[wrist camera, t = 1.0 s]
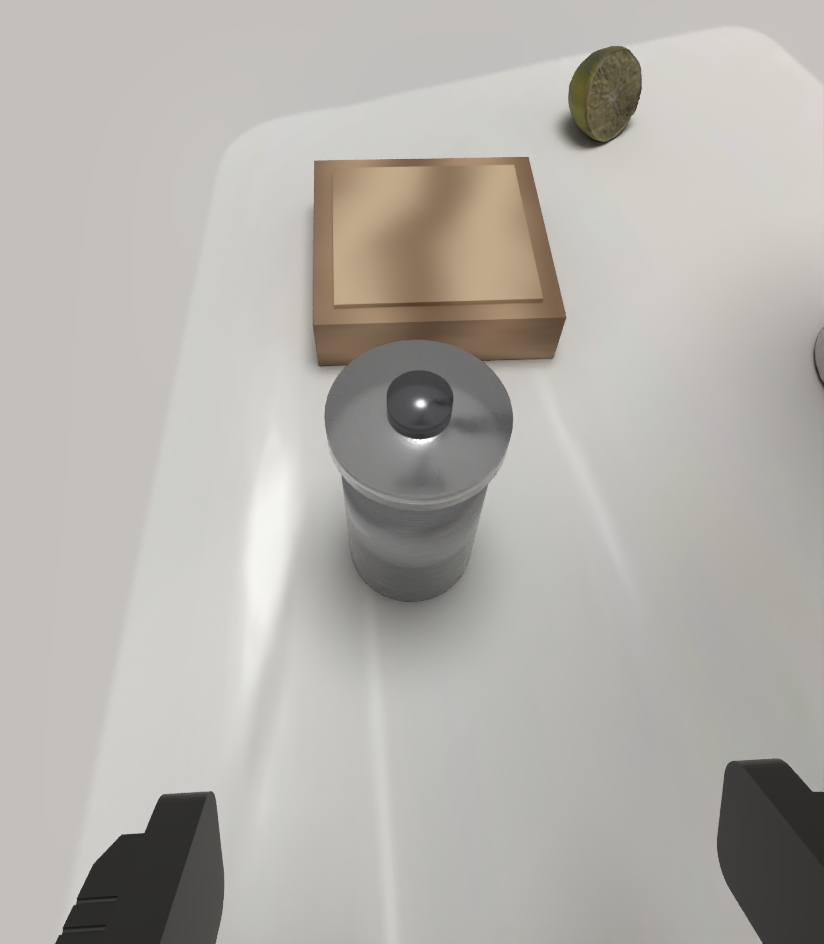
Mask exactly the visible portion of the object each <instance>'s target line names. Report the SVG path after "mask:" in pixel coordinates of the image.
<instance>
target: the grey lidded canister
mask: <svg viewBox="0 0 824 944" xmlns="http://www.w3.org/2000/svg"><path fill="white" fill-rule="evenodd" d="M325 427H326V434H327V440H328V446H329V450H330V454H331V456H332V459H333V461H334V463H335V465H336V467H337V468H338V470H339V472H340V473H341V475H342V483H343V490H344V498H345V506H346V514H347V522H348V530H349V538H350V546H351V554H352V558H353V562H354V565H355V567H356V569H357V571H358V573H359V575H360V576H361V577H362V579H363V580H364V581H365V582H366V583H367V584H368V585H369V586H370V587H371V588H373V589H374V590H375V591H377V592H378V593H380V594H382V595H384V596H386V597H389V598H392V599H395V600H400V601H423V600H427V599H431V598H433V597H436V596H438V595H440V594H442V593H444V592H446V591H447V590H448V589H450V588H451V587H452V586H453V585H454V584H455V583H456V582H457V581H458V580H459V578H460V577H461V576H462V574H463V572H464V571H465V569H466V566H467V564H468V560H469V556H470V553H471V549H472V545H473V541H474V537H475V533H476V529H477V525H478V521H479V518H480V514H481V510H482V506H483V502H484V498H485V494H486V490H487V486H488V484H489V483H490V481H491V480H492V479H493V478H494V476H495V475H496V474H497V472H498V470H499V469H500V467H501V465H502V463H503V460H504V458H505V455H506V451H507V448H508V444H509V441H510V437H511V433H512V427H513V413H512V406H511V402H510V398H509V396H508V393H507V391H506V389H505V387H504V385H503V384H502V382H501V380H500V379H499V378H498V377H497V375H496V374H495V373H494V372H493V371H492V370H491V369H490V368H489V367H488V366H487V365H486V364H485V363H484V362H482V361H481V360H480V359H478V358H477V357H475V356H474V355H472V354H470V353H469V352H467V351H464V350H462V349H460V348H458V347H455V346H452V345H449V344H445V343H441V342H436V341H429V340H404V341H397V342H392V343H388V344H385V345H381V346H378V347H376V348H374V349H371V350H369V351H367V352H366V353H364V354H362V355H360V356H359V357H357V358H356V359H355V360H353V361H352V362H351V363H350V364H349V365H347V366H346V367H345V368H344V369H343V370H342V372H341V373H340V374H339V375H338V377H337V378H336V380H335V381H334V383H333V385H332V387H331V389H330V391H329V394H328V397H327V401H326V405H325Z"/></svg>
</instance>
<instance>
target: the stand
mask: <svg viewBox="0 0 824 944" xmlns="http://www.w3.org/2000/svg"><path fill="white" fill-rule="evenodd" d="M565 320H566V314H565V310H564V305H563V301H562V297H561V293H560V288H559V284H558V280H557V276H556V271H555V267H554V263H553V259H552V254H551V250H550V246H549V242H548V238H547V233H546V229H545V225H544V221H543V216H542V212H541V208H540V204H539V199H538V195H537V191H536V187H535V183H534V178H533V174H532V170H531V166H530V161H529V157H501V158H443V159H385V160H327V161H314V266H313V329H314V336H315V343H316V350H317V357H318V363H319V366H329V365H349V364H350V363H351V362H352V361H353V360H355V359H356V358H357V357H359V356H360V355H362V354H364V353H366V352H367V351H369V350H371V349H374V348H376V347H378V346H381V345H385V344H388V343H392V342H397V341H404V340H429V341H436V342H441V343H445V344H449V345H452V346H455V347H458V348H460V349H462V350H464V351H467V352H469V353H470V354H472V355H474V356H475V357H477V358H478V359H480V360H504V359H534V358H553V357H554V354H555V351H556V348H557V345H558V342H559V339H560V335H561V332H562V329H563V326H564V323H565Z"/></svg>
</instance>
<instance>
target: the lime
mask: <svg viewBox="0 0 824 944" xmlns="http://www.w3.org/2000/svg"><path fill="white" fill-rule="evenodd" d="M641 76H642V75H641V67H640V64H639V62H638V60H637V59H636V57H635V56H634V55H633V54H632V53H631V51H630V50H628V49H627V48H625V47H622V46H611V47H608V48H604V49H601V50H598V51H596V52H594V53H592V54H591V55H590V56H589V57H588V58H586V59H585V61H583V62H582V63H581V64H580V66H579V67H578V68H577V70H576V71H575V73H574V75H573V77H572V80H571V82H570V85H569V95H568V101H569V108H570V111H571V113H572V115H573V117H574V120H575V122H576V124H577V126H578V127H579V128H580V129H581V130H582V131H583V132H584V133H585V134H587V135H588V136H589V137H590V138H591V139H593V140H596V141H600V142H606V141H608V140H610V139H612V138H614V137H616V136H617V135H618V134H619V133H620V132H621V131H622V130H623V129H624V127H625V126H626V124H627V123H628V121H629V120H630V118H631V116H632V115H633V114H634V112H635V111H636V108H637V105H638V101H639V99H640V94H641V89H642V87H641V85H642V78H641Z"/></svg>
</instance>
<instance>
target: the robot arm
mask: <svg viewBox="0 0 824 944" xmlns="http://www.w3.org/2000/svg"><path fill="white" fill-rule="evenodd" d="M815 359H816V365H817V368H818V371H819V374H820V377H821V379H822V381H823V382H824V327H823V329H822V330H821V332H820V334H819V335H818V338H817V342H816V346H815ZM717 851H718V858H719V863H720V867H721V870H722V873H723V876H724V878H725V881H726V883H727V885H728V887H729V889H730V890H731V892H732V894H733V895H734V897H735V899H736V900H737V902H738V903H739V905H740V907H741V908H742V910H743V912H744V913H745V915H746V917H747V918H748V920H749V921H750V923H751V925H752V926H753V928H754V930H755V931H756V933H757V935H758V936H759V938H760V940H761V941H762V943H763V944H824V792H812V791H811V790H810V788H809V787H808V786H807V785H806V784H805V783H804V782H803V781H802V780H801V778H800V777H799V776H798V775H797V774H796V773H795V772H794V771H793V770H792V768H791V767H790V766H789V765H788V764H787V763H786V762H784V761H783V760H781V759H761V760H745V761H732V762H730V763H729V764H728V765H727V767H726V770H725V774H724V783H723V792H722V801H721V810H720V819H719V828H718V836H717ZM223 899H224V869H223V860H222V851H221V842H220V833H219V823H218V814H217V805H216V799H215V795H214V793H213V792H212V791H209V792H193V793H177V794H163V795H162V796H161V797H160V798H159V800H158V802H157V804H156V806H155V809H154V811H153V814H152V816H151V818H150V821H149V823H148V826H147V828H146V830H145V833H141V834H125V835H121V836H120V837H119V838H118V839H117V840H116V841H115V842H114V843H113V844H112V845H111V846H110V847H109V848H108V849H107V851H106V852H105V853H104V854H103V855H102V856H101V857H100V858H99V859H98V860H97V861H96V862H95V863H94V864H93V866H92V868H91V870H90V872H89V874H88V876H87V878H86V881H85V883H84V885H83V887H82V889H81V891H80V893H79V895H78V897H77V903H76V905H74V906H73V908H72V910H71V912H70V914H69V916H68V918H67V920H66V922H65V924H64V926H63V933H62V935H59V937H58V939H57V941H56V943H55V944H215V943H216V939H217V934H218V930H219V926H220V921H221V916H222V909H223Z"/></svg>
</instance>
